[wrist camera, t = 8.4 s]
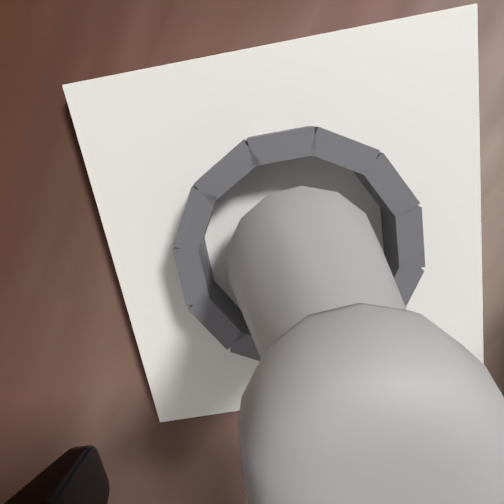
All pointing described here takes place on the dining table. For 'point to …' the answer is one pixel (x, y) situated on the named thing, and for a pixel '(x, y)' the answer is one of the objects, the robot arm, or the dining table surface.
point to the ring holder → (284, 181)
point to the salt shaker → (352, 370)
